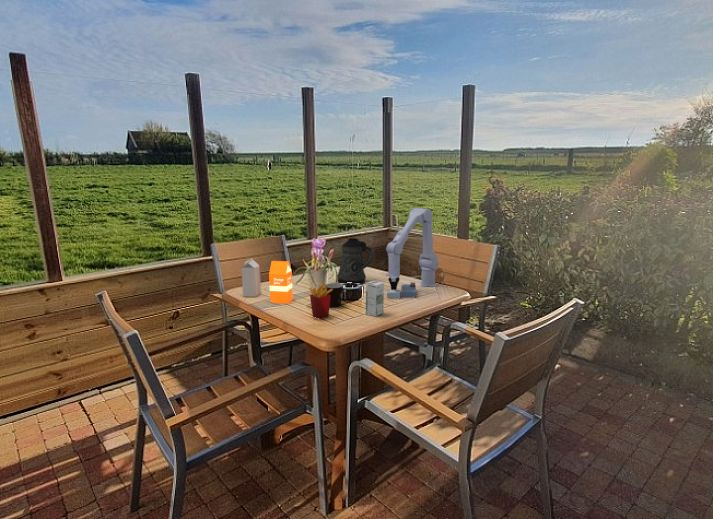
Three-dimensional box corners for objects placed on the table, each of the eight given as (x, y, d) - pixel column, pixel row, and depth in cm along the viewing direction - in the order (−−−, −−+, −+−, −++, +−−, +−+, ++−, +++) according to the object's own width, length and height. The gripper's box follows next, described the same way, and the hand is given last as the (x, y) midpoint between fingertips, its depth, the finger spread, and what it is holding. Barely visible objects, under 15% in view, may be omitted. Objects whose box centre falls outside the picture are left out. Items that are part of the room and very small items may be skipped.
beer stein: (334, 279, 248) (333, 237, 243) (365, 276, 254) (365, 235, 249) (341, 286, 233) (340, 241, 228) (374, 283, 238) (374, 239, 233)
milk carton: (261, 293, 221) (259, 257, 217) (256, 297, 214) (254, 260, 210) (247, 293, 221) (245, 257, 218) (243, 296, 215) (240, 260, 211)
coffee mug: (335, 309, 194) (335, 288, 192) (321, 306, 199) (321, 285, 197) (351, 303, 203) (351, 283, 201) (337, 300, 208) (337, 280, 206)
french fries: (309, 316, 185) (308, 283, 182) (324, 312, 191) (323, 280, 187) (322, 321, 179) (322, 287, 176) (337, 316, 184) (336, 283, 181)
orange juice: (287, 303, 203) (285, 263, 199) (270, 302, 205) (268, 262, 201) (292, 298, 211) (291, 259, 207) (276, 298, 212) (274, 259, 208)
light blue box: (387, 295, 216) (387, 289, 215) (400, 295, 215) (400, 289, 215) (386, 298, 210) (387, 292, 209) (399, 298, 209) (399, 293, 209)
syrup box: (373, 311, 192) (373, 280, 189) (383, 313, 188) (384, 282, 185) (365, 314, 188) (365, 282, 185) (376, 317, 184) (376, 284, 181)
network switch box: (401, 289, 226) (401, 281, 225) (415, 290, 225) (415, 282, 224) (400, 297, 212) (401, 288, 211) (415, 297, 211) (416, 289, 210)
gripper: (386, 262, 221) (386, 287, 224) (385, 269, 207) (385, 295, 210) (400, 262, 220) (400, 288, 223) (400, 269, 206) (399, 296, 209)
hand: (393, 291), depth 216 cm, fingers closed
